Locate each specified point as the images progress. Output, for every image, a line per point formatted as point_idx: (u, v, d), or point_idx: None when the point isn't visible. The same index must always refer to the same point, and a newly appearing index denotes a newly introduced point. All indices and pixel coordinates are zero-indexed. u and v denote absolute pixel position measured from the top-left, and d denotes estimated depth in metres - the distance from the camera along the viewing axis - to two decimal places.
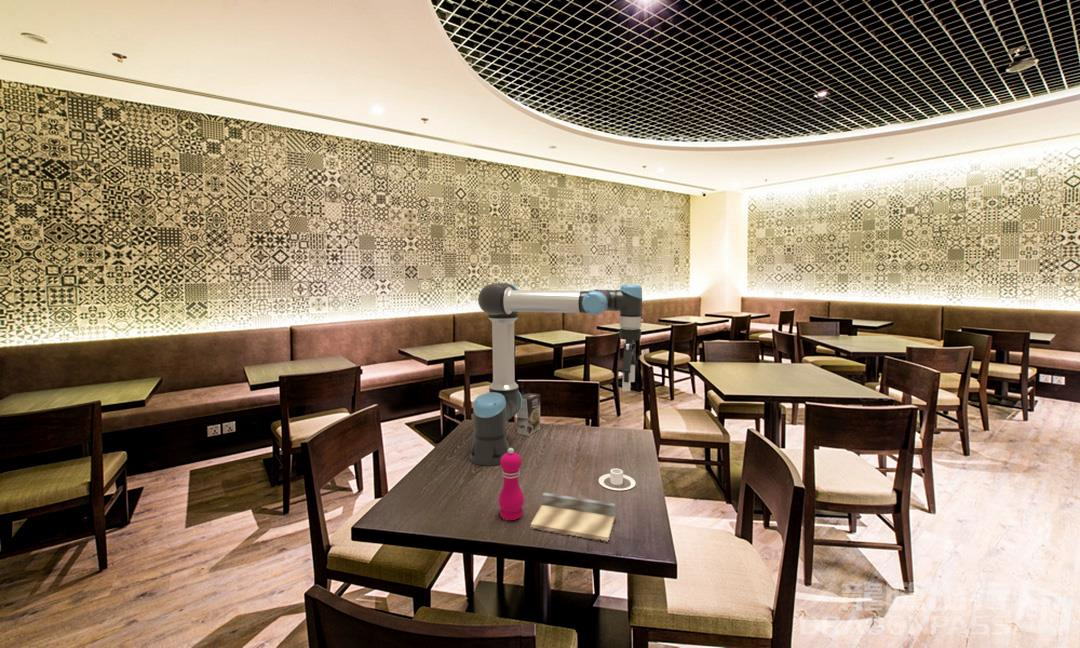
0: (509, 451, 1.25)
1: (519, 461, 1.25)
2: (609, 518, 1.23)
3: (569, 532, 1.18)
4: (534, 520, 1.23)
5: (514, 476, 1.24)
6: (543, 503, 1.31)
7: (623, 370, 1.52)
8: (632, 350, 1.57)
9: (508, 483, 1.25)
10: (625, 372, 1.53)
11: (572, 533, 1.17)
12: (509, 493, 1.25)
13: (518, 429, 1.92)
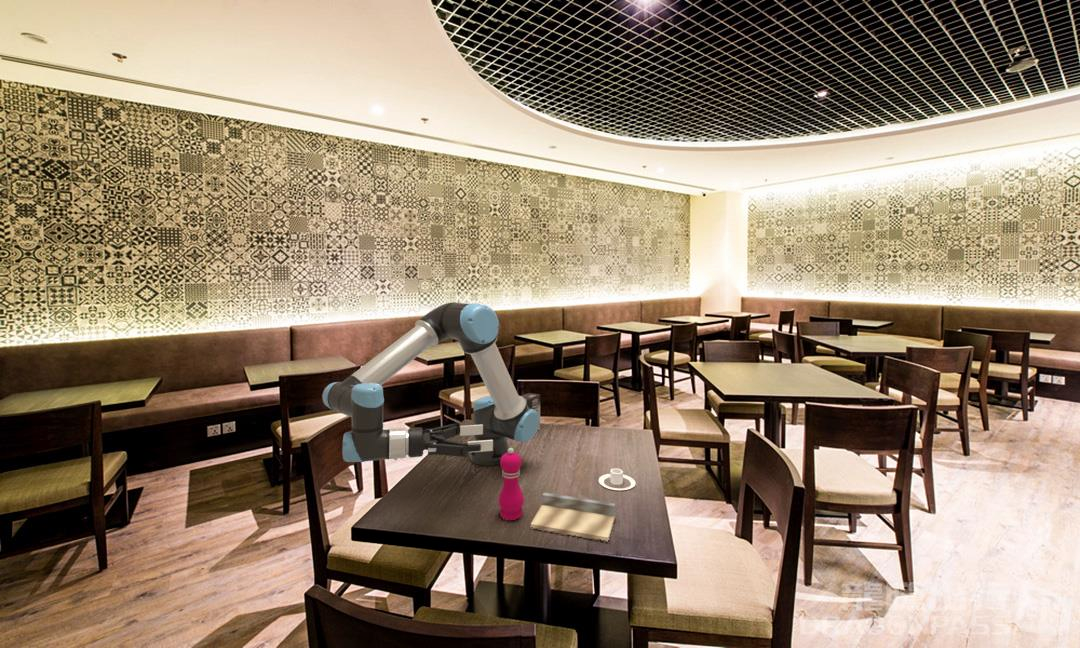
0: (509, 451, 1.25)
1: (519, 461, 1.25)
2: (609, 518, 1.23)
3: (569, 532, 1.18)
4: (534, 520, 1.23)
5: (514, 476, 1.24)
6: (543, 503, 1.31)
7: None
8: None
9: (508, 483, 1.25)
10: None
11: (572, 533, 1.17)
12: (509, 493, 1.25)
13: None
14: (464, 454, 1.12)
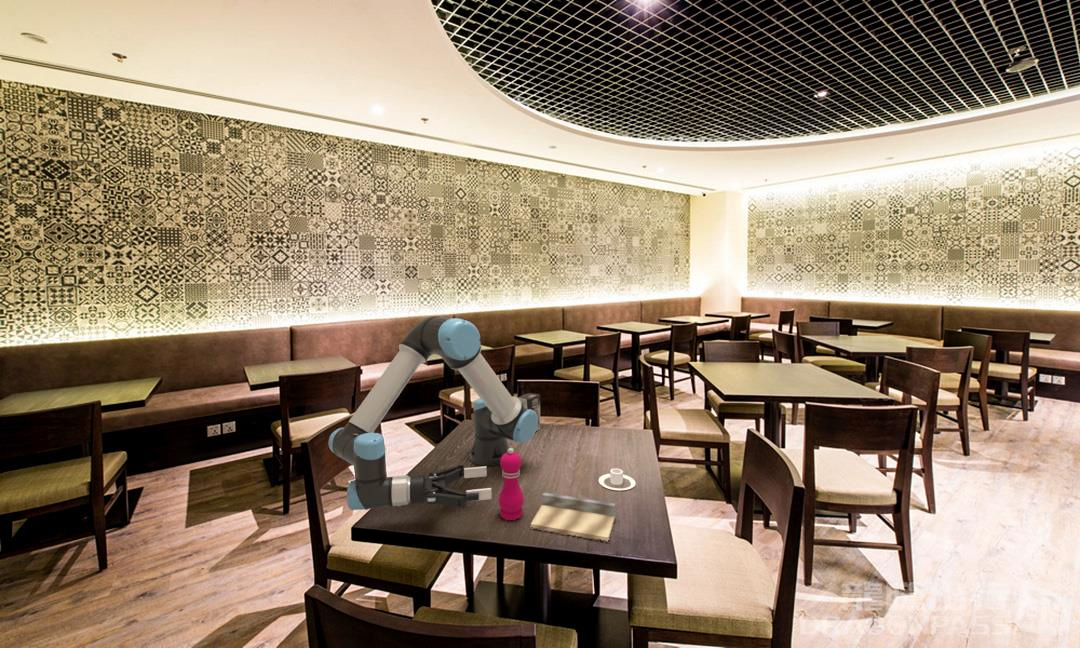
0: (509, 451, 1.25)
1: (519, 461, 1.25)
2: (609, 518, 1.23)
3: (569, 532, 1.18)
4: (534, 520, 1.23)
5: (514, 476, 1.24)
6: (543, 503, 1.31)
7: None
8: None
9: (508, 483, 1.25)
10: None
11: (572, 533, 1.17)
12: (509, 493, 1.25)
13: None
14: (461, 505, 1.14)
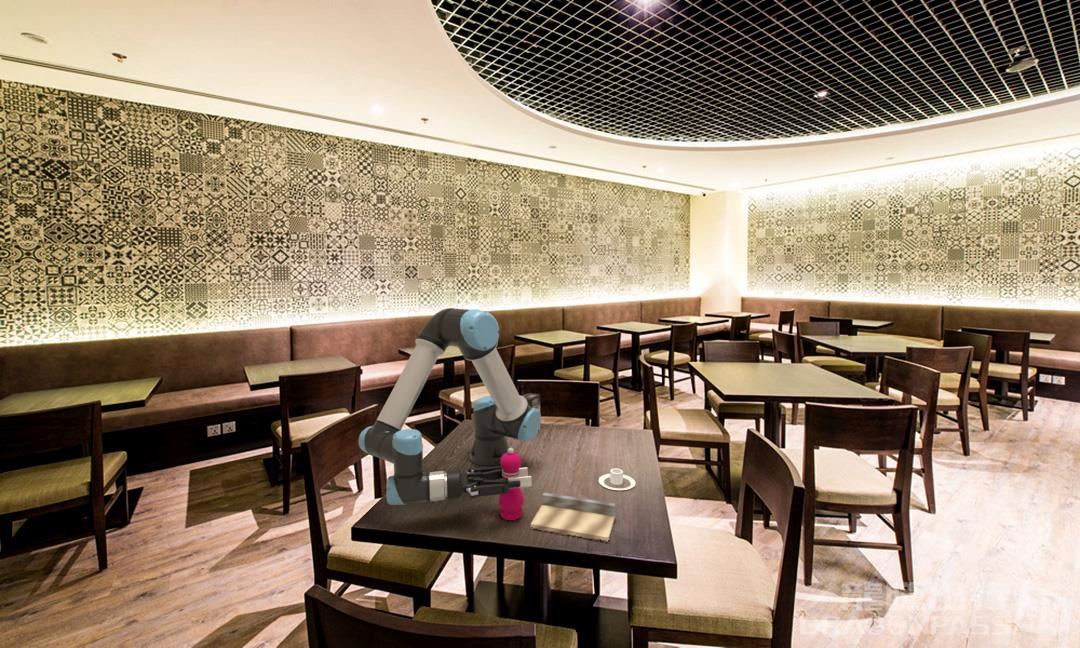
0: (509, 451, 1.25)
1: (519, 461, 1.25)
2: (609, 518, 1.23)
3: (569, 532, 1.18)
4: (534, 520, 1.23)
5: (514, 476, 1.24)
6: (543, 503, 1.31)
7: None
8: None
9: None
10: None
11: (572, 533, 1.17)
12: (509, 493, 1.25)
13: None
14: (505, 491, 1.20)
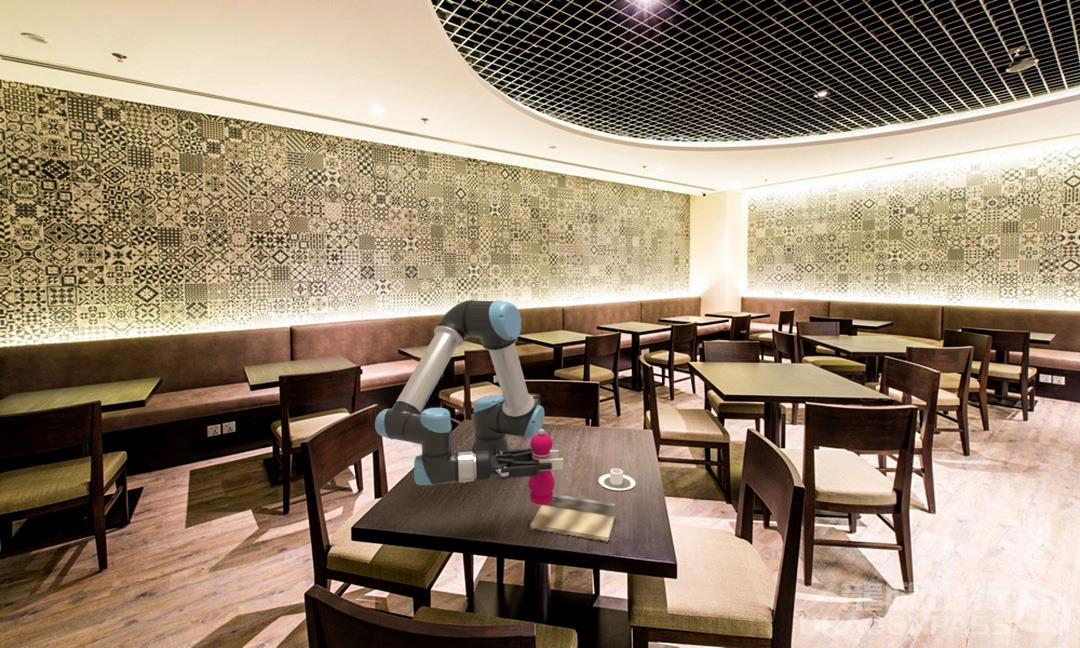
0: (540, 432, 1.20)
1: (550, 442, 1.20)
2: (609, 518, 1.23)
3: (569, 532, 1.18)
4: (534, 520, 1.23)
5: (545, 458, 1.20)
6: None
7: None
8: None
9: None
10: None
11: (572, 533, 1.17)
12: (540, 475, 1.20)
13: None
14: (536, 473, 1.16)
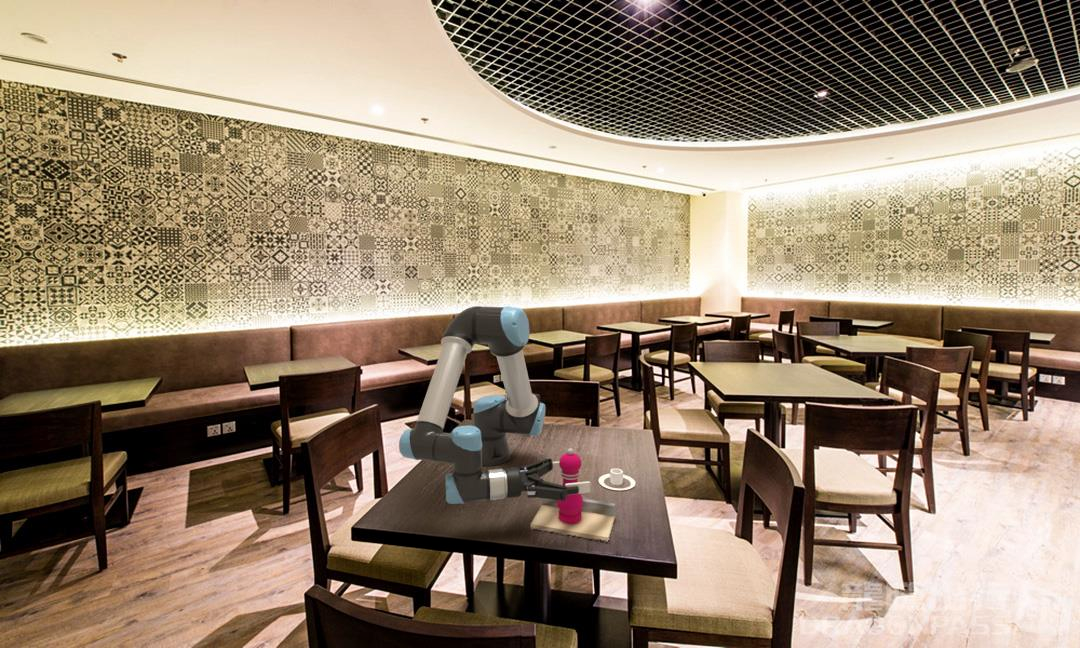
0: (569, 452, 1.21)
1: (579, 462, 1.21)
2: (609, 518, 1.23)
3: (569, 532, 1.18)
4: (534, 520, 1.23)
5: (574, 477, 1.20)
6: (543, 503, 1.31)
7: None
8: None
9: None
10: None
11: (572, 533, 1.17)
12: (569, 495, 1.20)
13: None
14: (564, 498, 1.12)
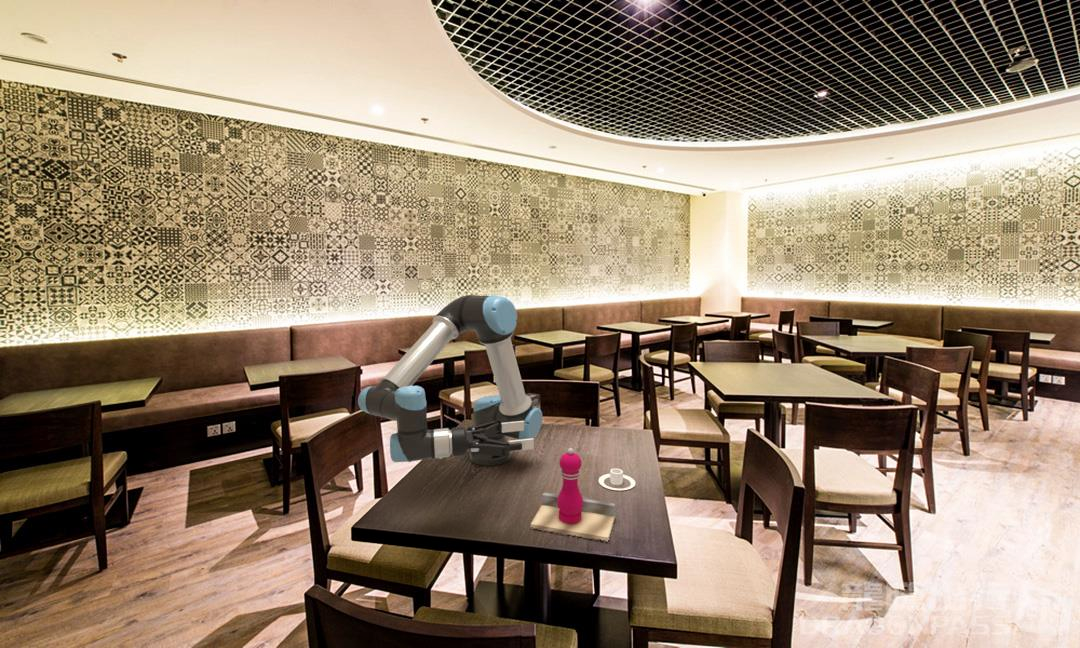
0: (569, 451, 1.21)
1: (580, 462, 1.21)
2: (609, 518, 1.23)
3: (569, 532, 1.18)
4: (534, 520, 1.23)
5: (575, 477, 1.20)
6: (543, 503, 1.31)
7: None
8: None
9: (568, 484, 1.21)
10: None
11: (572, 533, 1.17)
12: (569, 494, 1.20)
13: None
14: (506, 454, 1.14)
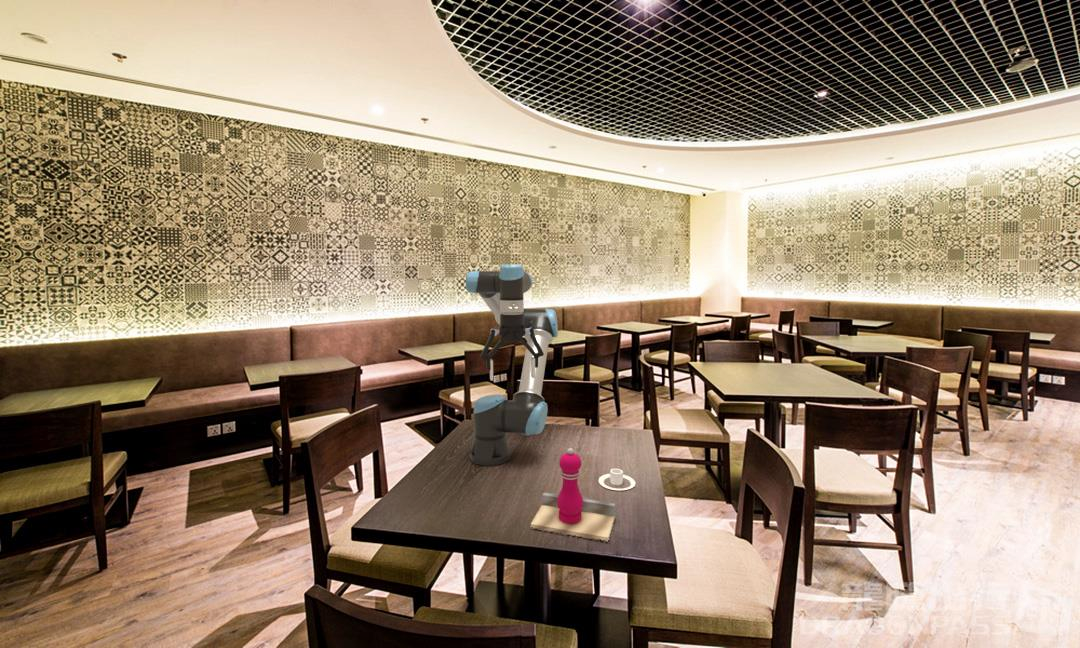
0: (569, 451, 1.21)
1: (579, 462, 1.21)
2: (609, 518, 1.23)
3: (569, 532, 1.18)
4: (534, 520, 1.23)
5: (574, 477, 1.20)
6: (543, 503, 1.31)
7: (480, 355, 1.43)
8: (503, 337, 1.42)
9: (568, 484, 1.21)
10: None
11: (572, 533, 1.17)
12: (569, 494, 1.20)
13: None
14: None
